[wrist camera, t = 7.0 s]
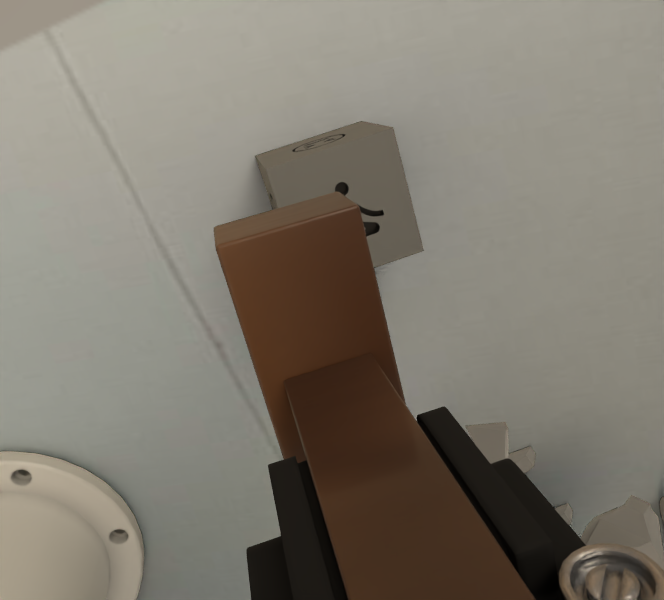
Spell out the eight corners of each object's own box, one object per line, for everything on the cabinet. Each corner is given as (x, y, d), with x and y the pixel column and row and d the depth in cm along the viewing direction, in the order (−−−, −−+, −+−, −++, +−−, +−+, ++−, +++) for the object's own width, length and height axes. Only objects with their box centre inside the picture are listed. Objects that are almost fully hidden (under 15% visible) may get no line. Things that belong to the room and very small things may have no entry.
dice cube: (289, 259, 30) (305, 291, 25) (255, 155, 28) (265, 169, 23) (389, 225, 30) (423, 250, 25) (361, 121, 28) (392, 127, 24)
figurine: (647, 546, 40) (801, 703, 30) (484, 659, 40) (581, 853, 30) (521, 337, 33) (663, 446, 23) (327, 475, 34) (383, 642, 23)
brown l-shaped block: (315, 541, 19) (458, 1088, 8) (211, 218, 15) (239, 474, 5) (410, 508, 19) (660, 996, 9) (330, 184, 16) (588, 358, 5)
